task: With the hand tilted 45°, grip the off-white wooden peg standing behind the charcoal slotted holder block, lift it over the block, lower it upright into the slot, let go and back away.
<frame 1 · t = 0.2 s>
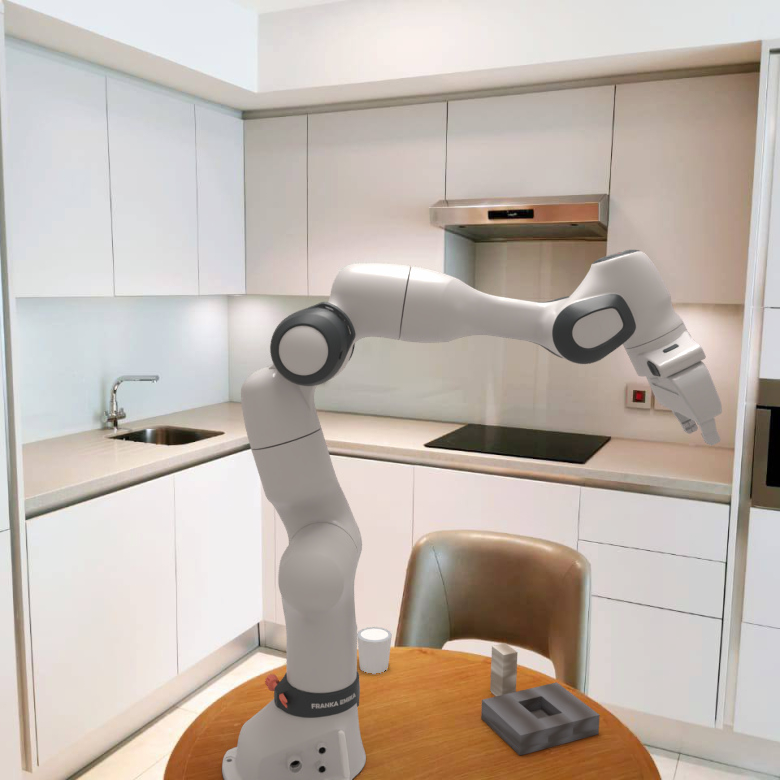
hand: (702, 436, 114), 54 cm above the table, tool tilted 30°, fingers open, 8 cm apart
white cup: (373, 668, 155), on the table
peg: (502, 694, 146), on the table
slot holder: (538, 726, 135), on the table
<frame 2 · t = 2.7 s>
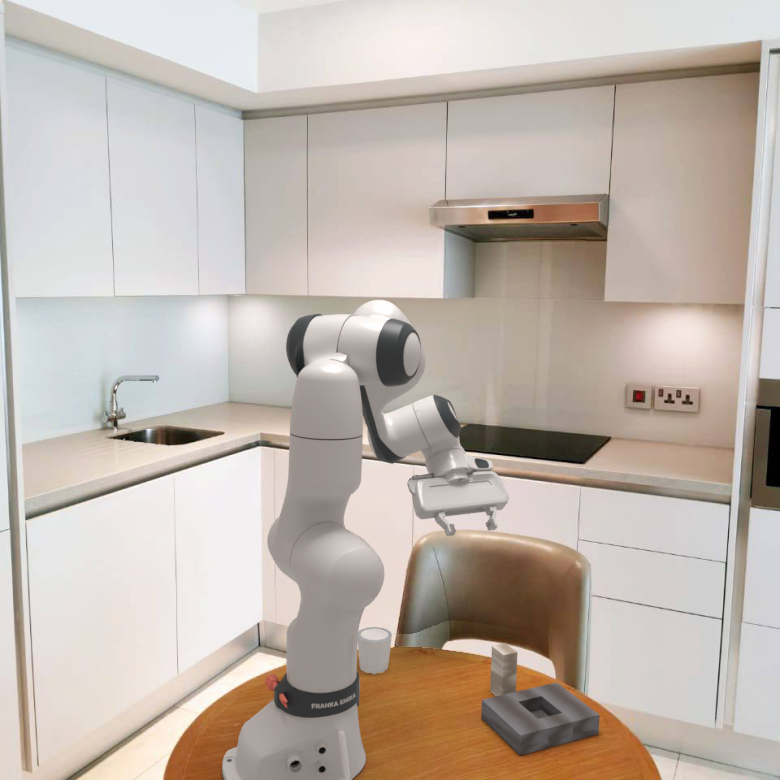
hand: (472, 531, 154), 27 cm above the table, tool tilted 45°, fingers open, 8 cm apart
nothing on the table moved.
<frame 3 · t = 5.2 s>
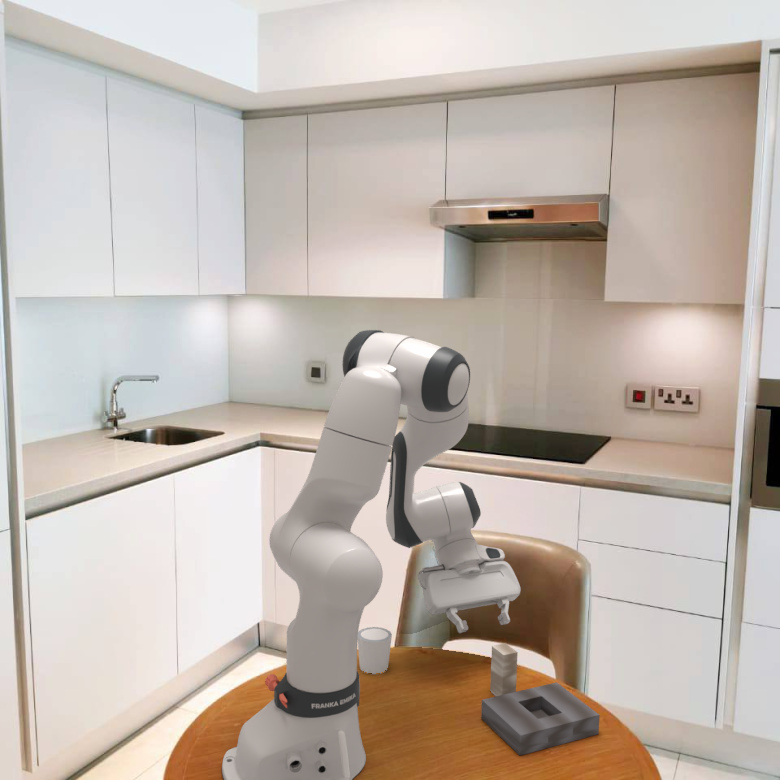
hand: (485, 627, 151), 10 cm above the table, tool tilted 45°, fingers open, 8 cm apart
nothing on the table moved.
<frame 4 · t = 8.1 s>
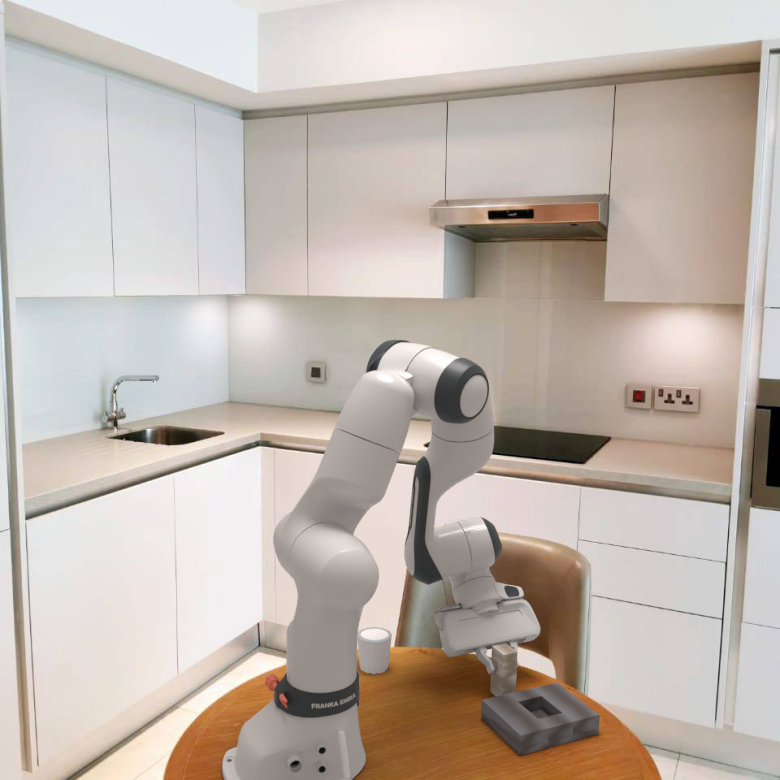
hand: (504, 670, 145), 5 cm above the table, tool tilted 45°, fingers closed on peg, 3 cm apart
peg: (502, 694, 146), on the table, touching gripper
everything else where it was.
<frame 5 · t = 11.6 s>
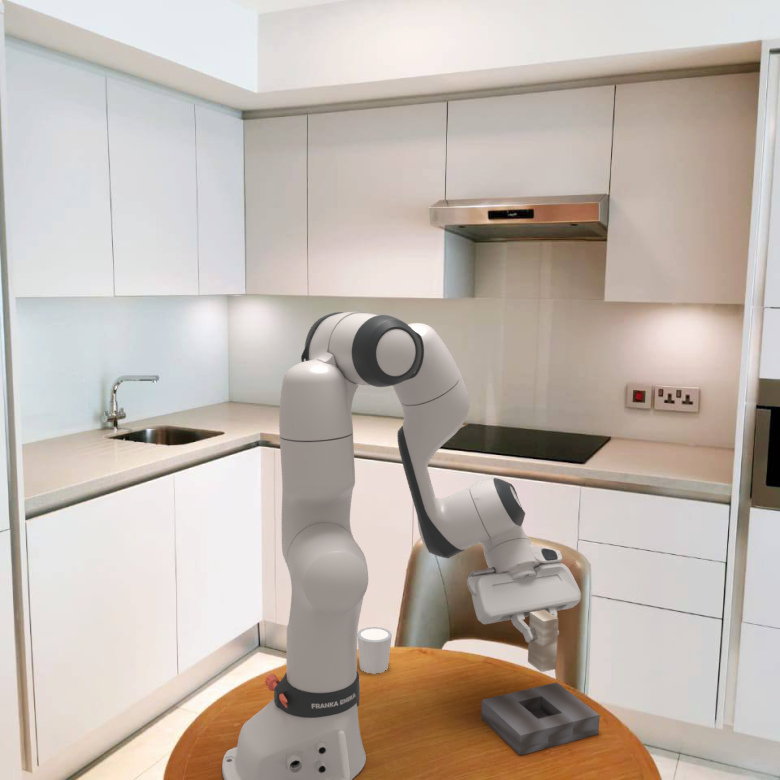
hand: (543, 638, 133), 16 cm above the table, tool tilted 45°, fingers closed on peg, 3 cm apart
peg: (541, 665, 134), point 11 cm above the table, touching gripper
everything else where it was.
when the fingers open (6 cm above the table, at t = 14.7 s): peg stays where it is, resting on slot holder.
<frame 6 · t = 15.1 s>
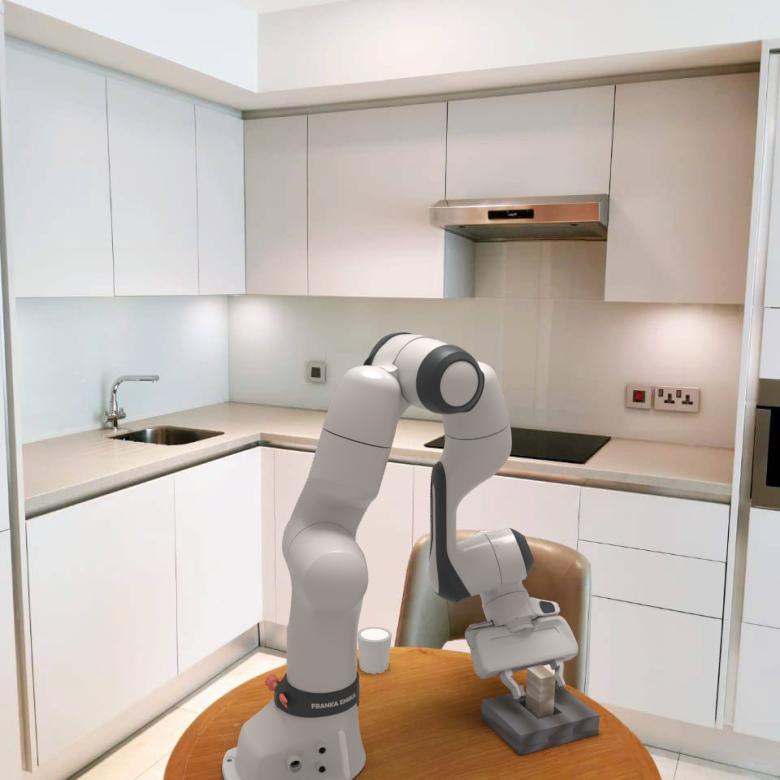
hand: (540, 693, 134), 6 cm above the table, tool tilted 45°, fingers open, 7 cm apart
peg: (538, 720, 135), point 1 cm above the table, touching slot holder
everything else where it was.
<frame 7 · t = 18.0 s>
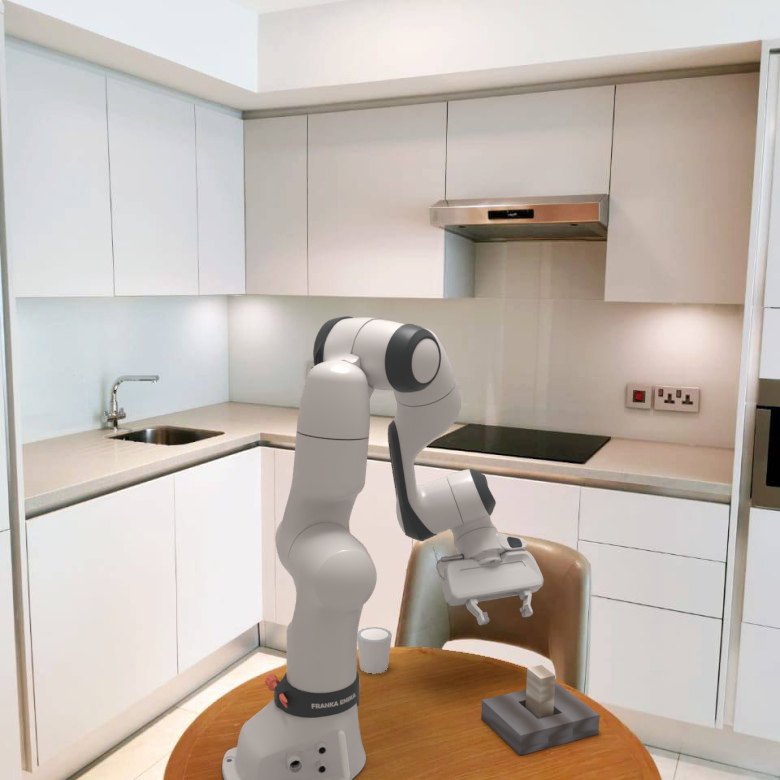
hand: (506, 619, 143), 15 cm above the table, tool tilted 45°, fingers open, 8 cm apart
nothing on the table moved.
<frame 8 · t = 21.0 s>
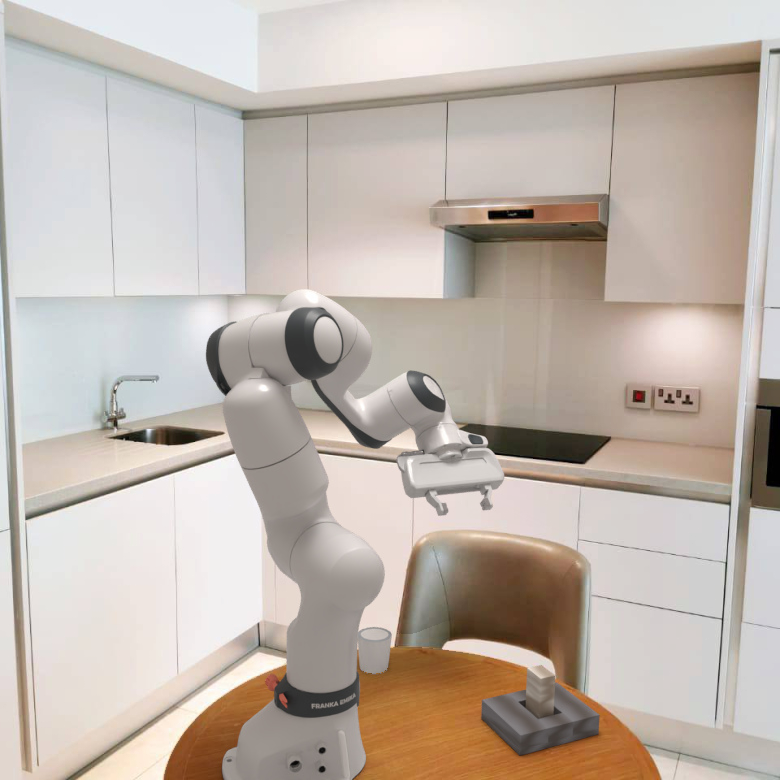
hand: (466, 511, 144), 34 cm above the table, tool tilted 45°, fingers open, 8 cm apart
nothing on the table moved.
at the end: peg 0.1 cm off-centre on the slot holder, point 1.0 cm above the slot holder's base; peg tilted 0°; the gripper is holding nothing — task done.
